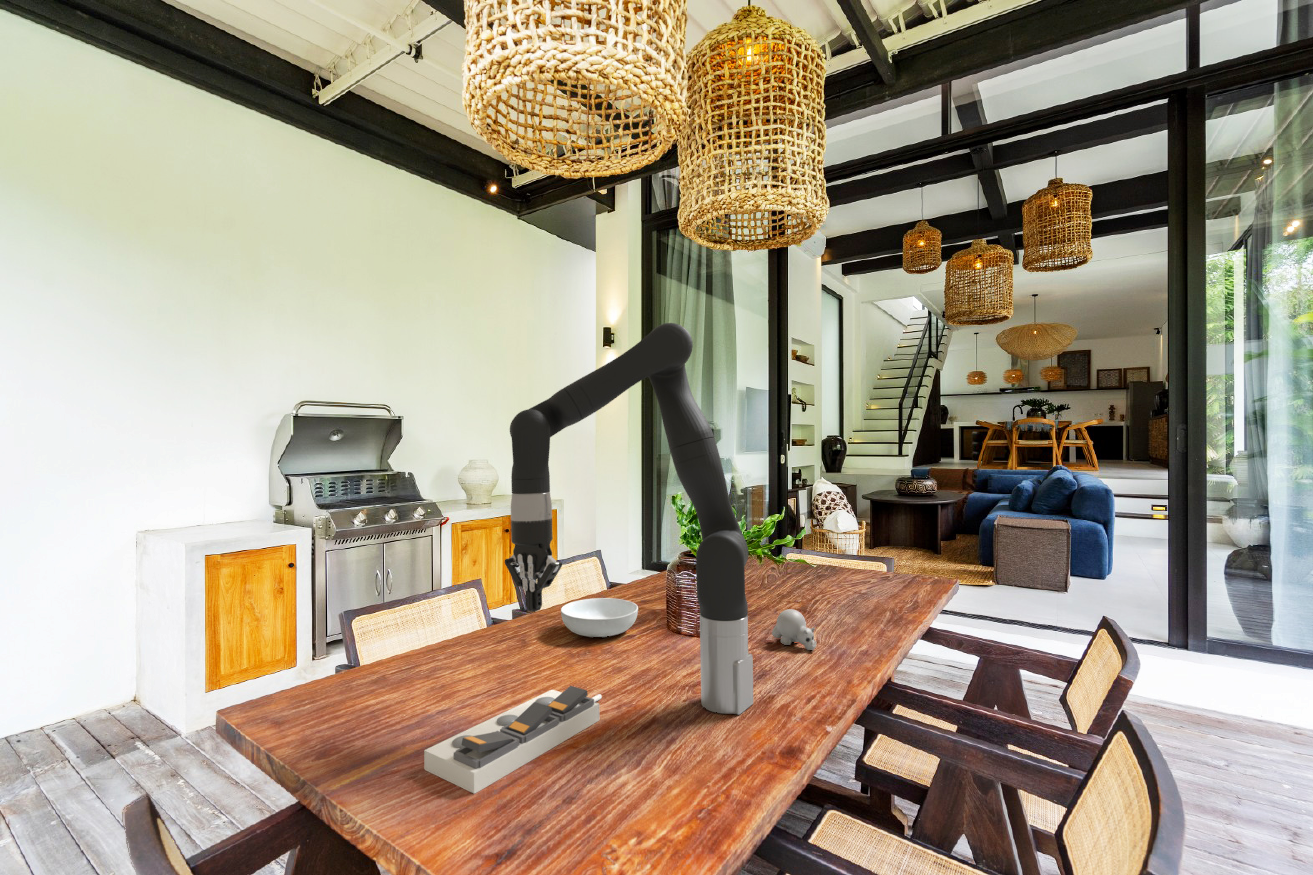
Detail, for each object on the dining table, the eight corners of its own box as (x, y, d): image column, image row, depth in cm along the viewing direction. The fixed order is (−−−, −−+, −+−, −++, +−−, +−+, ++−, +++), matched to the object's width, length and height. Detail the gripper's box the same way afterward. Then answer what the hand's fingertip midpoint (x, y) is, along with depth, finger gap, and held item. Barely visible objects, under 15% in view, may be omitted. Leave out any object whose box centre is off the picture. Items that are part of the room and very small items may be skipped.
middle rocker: (535, 706, 104) (534, 701, 104) (552, 712, 102) (550, 706, 101) (508, 732, 99) (507, 726, 99) (525, 738, 97) (524, 732, 96)
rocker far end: (493, 738, 96) (495, 731, 97) (510, 745, 94) (512, 737, 94) (461, 744, 91) (462, 737, 92) (478, 752, 89) (480, 744, 89)
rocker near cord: (571, 690, 111) (570, 684, 111) (587, 695, 109) (586, 689, 109) (547, 711, 106) (546, 705, 106) (564, 716, 104) (563, 710, 104)
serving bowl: (566, 649, 150) (565, 621, 150) (557, 625, 170) (556, 601, 170) (646, 640, 155) (646, 614, 155) (628, 618, 175) (628, 595, 175)
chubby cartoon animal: (799, 664, 144) (808, 635, 141) (766, 634, 153) (774, 605, 150) (820, 658, 148) (829, 629, 145) (786, 628, 157) (794, 601, 154)
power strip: (578, 691, 123) (578, 672, 123) (624, 705, 116) (624, 684, 116) (424, 769, 94) (424, 743, 94) (474, 793, 87) (474, 765, 87)
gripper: (572, 516, 112) (574, 609, 111) (520, 513, 119) (522, 602, 118) (544, 520, 105) (546, 620, 105) (491, 518, 112) (493, 611, 112)
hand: (533, 610), depth 112 cm, fingers closed
